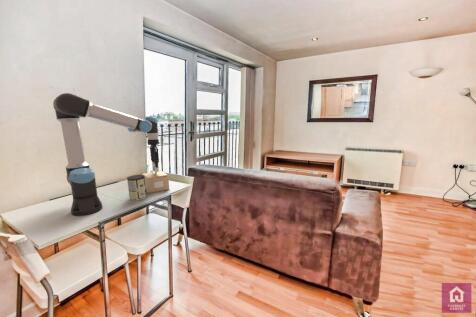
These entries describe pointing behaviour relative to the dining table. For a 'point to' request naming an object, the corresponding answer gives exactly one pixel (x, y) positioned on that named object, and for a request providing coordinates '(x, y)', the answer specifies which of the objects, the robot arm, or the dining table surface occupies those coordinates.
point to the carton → (155, 182)
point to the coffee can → (136, 187)
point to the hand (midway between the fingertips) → (155, 171)
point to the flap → (159, 173)
